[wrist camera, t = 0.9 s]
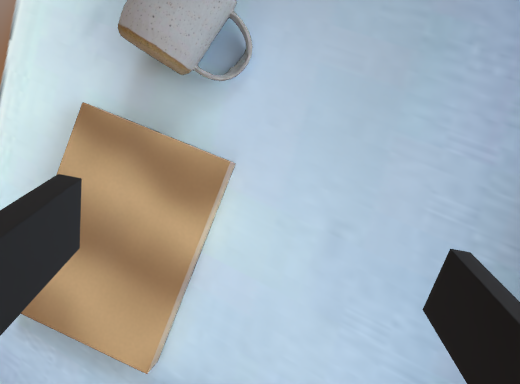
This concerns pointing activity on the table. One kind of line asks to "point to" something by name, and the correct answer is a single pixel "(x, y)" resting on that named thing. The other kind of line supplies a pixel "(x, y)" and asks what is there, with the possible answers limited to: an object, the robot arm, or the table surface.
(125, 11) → the ceramic mug
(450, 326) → the robot arm
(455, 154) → the table surface
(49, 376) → the table surface
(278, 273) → the table surface
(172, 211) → the board
